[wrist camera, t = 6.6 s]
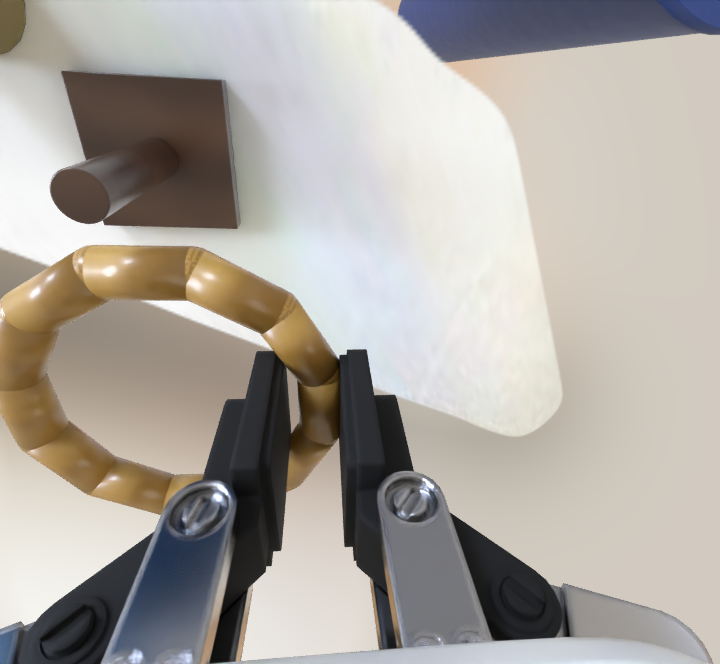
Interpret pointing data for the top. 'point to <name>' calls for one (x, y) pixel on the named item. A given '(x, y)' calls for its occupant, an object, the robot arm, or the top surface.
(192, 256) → the ring
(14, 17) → the cork
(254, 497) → the robot arm
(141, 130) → the rack
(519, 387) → the top surface
